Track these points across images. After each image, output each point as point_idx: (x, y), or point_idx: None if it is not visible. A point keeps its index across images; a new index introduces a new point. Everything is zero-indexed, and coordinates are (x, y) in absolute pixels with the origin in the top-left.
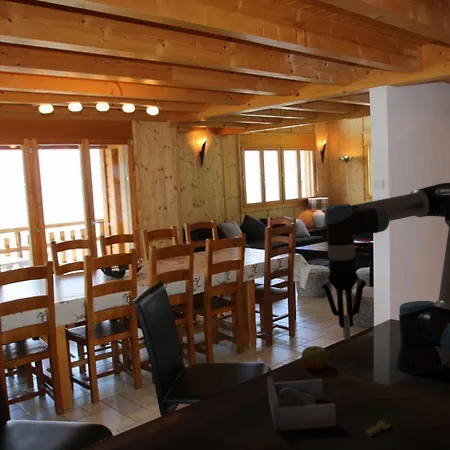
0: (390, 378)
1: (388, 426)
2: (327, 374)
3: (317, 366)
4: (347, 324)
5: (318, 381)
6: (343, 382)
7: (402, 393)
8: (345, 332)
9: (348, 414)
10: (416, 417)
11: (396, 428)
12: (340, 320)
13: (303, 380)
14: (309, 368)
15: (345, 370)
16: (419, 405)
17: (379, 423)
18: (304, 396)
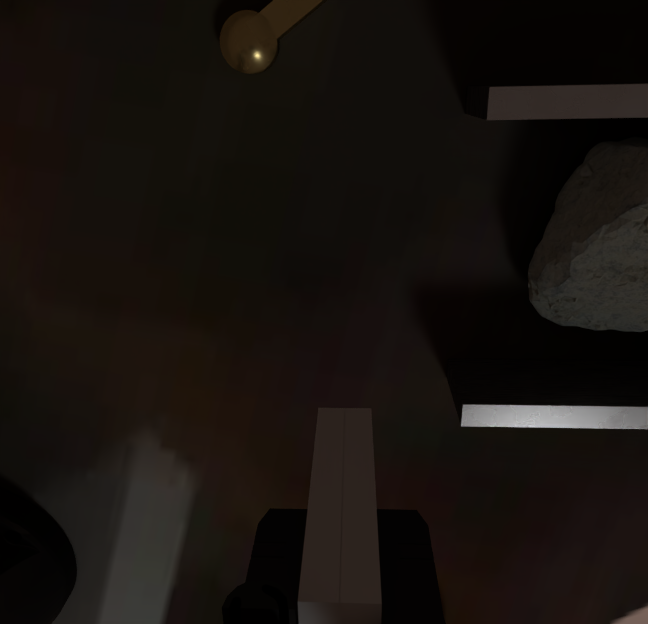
0: (122, 486)
1: (230, 19)
2: None
3: None
4: (337, 518)
5: (483, 403)
6: None
7: (100, 351)
8: (369, 452)
9: (378, 196)
10: (84, 117)
11: (195, 20)
12: (429, 588)
13: (558, 423)
14: None
15: None
16: (50, 230)
17: (266, 44)
18: (645, 190)
